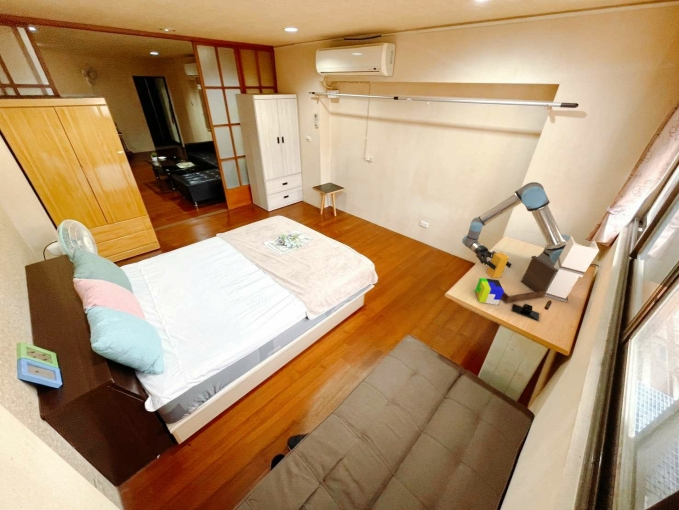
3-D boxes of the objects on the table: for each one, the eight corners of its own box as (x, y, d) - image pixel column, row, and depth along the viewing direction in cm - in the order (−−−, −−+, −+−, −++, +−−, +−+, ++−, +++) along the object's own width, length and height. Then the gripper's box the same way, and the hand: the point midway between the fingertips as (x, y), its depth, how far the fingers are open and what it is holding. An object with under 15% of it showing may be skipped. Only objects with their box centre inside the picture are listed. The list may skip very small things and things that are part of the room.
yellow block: (494, 271, 176) (502, 252, 169) (500, 276, 172) (509, 257, 164) (486, 272, 175) (494, 253, 167) (492, 277, 170) (500, 258, 162)
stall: (522, 281, 168) (535, 255, 158) (544, 297, 155) (559, 270, 145) (486, 286, 163) (497, 260, 153) (505, 303, 150) (518, 276, 140)
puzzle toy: (497, 304, 148) (504, 290, 143) (479, 301, 150) (484, 288, 145) (492, 293, 157) (498, 280, 152) (475, 290, 158) (480, 277, 153)
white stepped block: (566, 302, 152) (599, 250, 133) (544, 295, 156) (573, 244, 138) (564, 291, 160) (595, 241, 142) (543, 285, 165) (570, 235, 146)
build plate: (511, 311, 144) (514, 304, 142) (513, 304, 149) (516, 297, 147) (538, 321, 138) (541, 314, 136) (538, 313, 143) (542, 306, 141)
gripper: (492, 252, 188) (516, 269, 170) (463, 255, 183) (485, 273, 165) (495, 243, 184) (520, 260, 166) (466, 246, 179) (488, 264, 161)
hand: (502, 267), depth 165 cm, fingers open, 11 cm apart
